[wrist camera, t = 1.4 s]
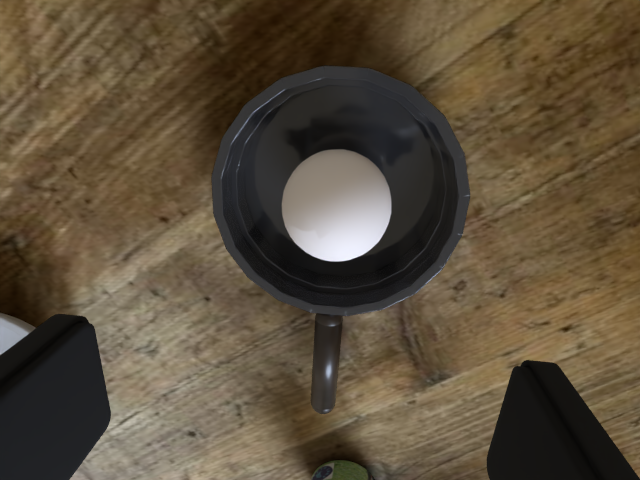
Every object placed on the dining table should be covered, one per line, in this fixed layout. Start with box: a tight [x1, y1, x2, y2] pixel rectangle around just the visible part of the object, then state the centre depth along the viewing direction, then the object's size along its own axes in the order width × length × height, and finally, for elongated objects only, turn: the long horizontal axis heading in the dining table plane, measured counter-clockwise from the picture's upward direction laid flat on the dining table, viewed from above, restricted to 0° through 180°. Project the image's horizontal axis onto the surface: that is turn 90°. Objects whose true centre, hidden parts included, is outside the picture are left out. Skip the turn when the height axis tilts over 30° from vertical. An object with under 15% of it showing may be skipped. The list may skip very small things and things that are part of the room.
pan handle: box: [311, 313, 343, 414], centre depth 27 cm, size 9×2×2 cm, turn 177°
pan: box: [212, 65, 470, 316], centre depth 24 cm, size 14×14×4 cm
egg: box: [282, 149, 391, 261], centre depth 22 cm, size 6×6×8 cm
